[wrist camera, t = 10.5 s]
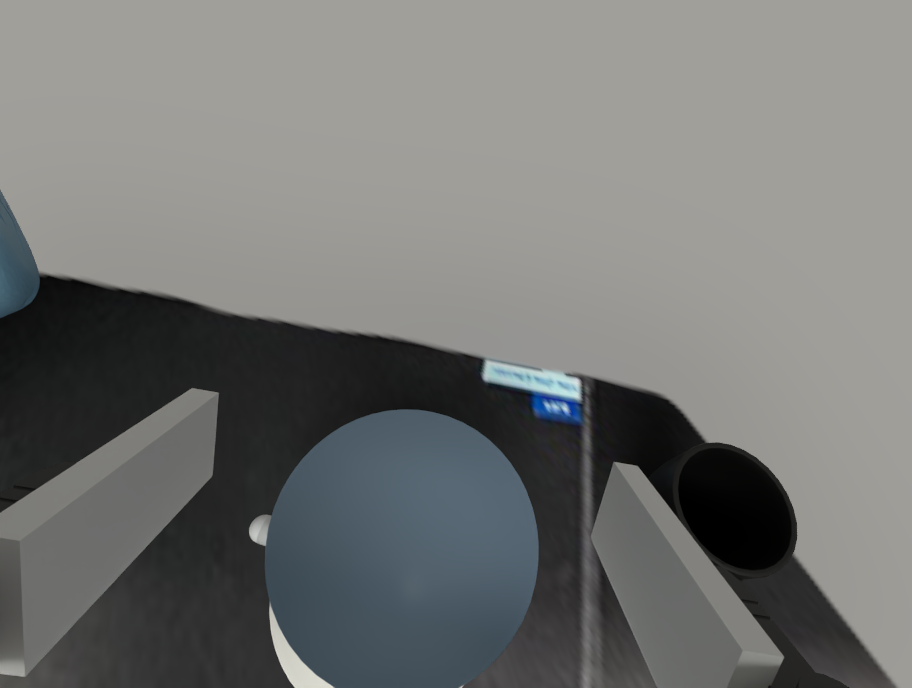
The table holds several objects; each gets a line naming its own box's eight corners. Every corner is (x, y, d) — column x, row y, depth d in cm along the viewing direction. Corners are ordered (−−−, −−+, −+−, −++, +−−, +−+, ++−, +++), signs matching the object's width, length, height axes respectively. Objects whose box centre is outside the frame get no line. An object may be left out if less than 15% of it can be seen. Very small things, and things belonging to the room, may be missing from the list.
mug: (600, 626, 34) (671, 630, 26) (611, 465, 40) (672, 426, 32) (711, 658, 34) (817, 672, 26) (705, 492, 40) (790, 460, 32)
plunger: (307, 626, 19) (205, 641, 8) (357, 503, 21) (338, 377, 10) (426, 670, 19) (501, 751, 7) (462, 540, 21) (560, 455, 10)
